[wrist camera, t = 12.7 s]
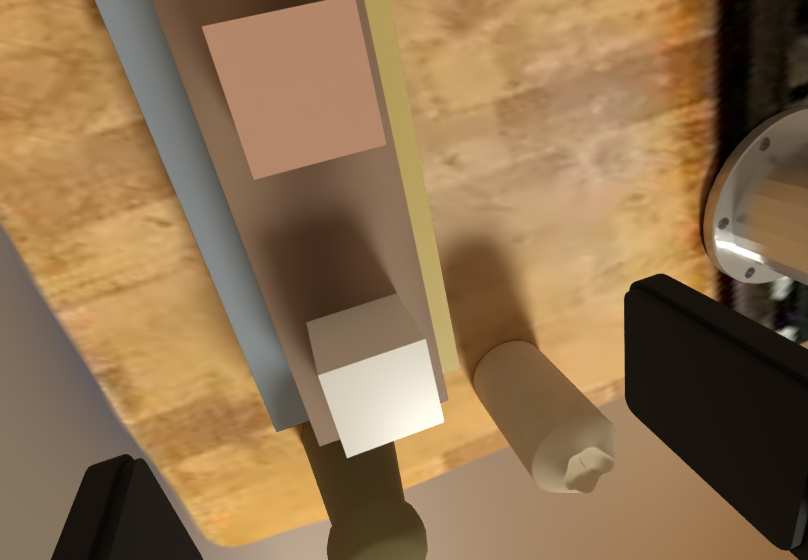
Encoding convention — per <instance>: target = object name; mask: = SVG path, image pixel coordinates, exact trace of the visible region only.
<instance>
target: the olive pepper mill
mask: <svg viewBox="0 0 808 560" xmlns="http://www.w3.org/2000/svg"><path fill="white" fill-rule="evenodd" d="M302 439H303V444H304V448H305V451H306V453H307V456H308V459H309V462H310V465H311V468H312V470H313V473H314V476H315V479H316V482H317V485H318V487H319V490H320V493H321V496H322V499H323V502H324V504H325V507H326V510H327V513H328V516H329V519H330V521H331V524H332V527H331V529H330V534H329V538H328V544H327V555H328V560H425V558H426V554H427V550H428V549H427V539H426V530H425V527H424V525H423V522H422V520H421V518H420V517H419V515H418V514H417V512H416V511H415V509H414V508H413V507H412V505H410V504H409V503H407V502H406V501H405V499H404V494H403V488H402V483H401V477H400V472H399V467H398V461H397V456H396V450H395V445H394V441H392V442H389V443H387V444H384V445H381V446H379V447H376V448H373V449H371V450H368V451H365V452H362V453H360V454H357V455H354V456H352V457H349V458H347V456H346V454H345V451H344V448H343V445H342V442H341V439H339V440H337V441H334V442H331V443H328V444H326V445H323V446H319V443H318V441H317V438H316V435H315V433H314V430H313V427H312V425H311V422H310V421H307V422H305V424H304V427H303V433H302Z"/></svg>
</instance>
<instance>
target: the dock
mask: <svg viewBox="0 0 808 560" xmlns="http://www.w3.org/2000/svg"><path fill="white" fill-rule="evenodd" d="M364 1H365V5H366V10H367V15H368V20H369V24H370V29H371V34H372V39H373V43H374V48H375V53H376V58H377V63H378V67H379V72H380V77H381V82H382V86H383V91H384V96H385V101H386V105H387V110H388V115H389V120H390V124H391V129H392V134H393V139H394V143H395V148H396V153H397V158H398V162H399V167H400V172H401V177H402V181H403V186H404V191H405V196H406V201H407V205H408V210H409V215H410V220H411V224H412V229H413V234H414V239H415V243H416V248H417V253H418V258H419V262H420V267H421V272H422V277H423V281H424V286H425V291H426V296H427V300H428V305H429V310H430V315H431V319H432V324H433V329H434V334H435V339H436V343H437V348H438V353H439V358H440V362H441V367H442V372H443V374H446V373H449V372H452V371H454V370H457V369H460V366H459V360H458V355H457V350H456V345H455V339H454V334H453V329H452V324H451V318H450V313H449V308H448V303H447V297H446V292H445V287H444V281H443V276H442V271H441V266H440V260H439V255H438V250H437V245H436V239H435V234H434V229H433V224H432V218H431V213H430V208H429V203H428V197H427V192H426V187H425V181H424V176H423V171H422V166H421V160H420V155H419V150H418V145H417V139H416V134H415V129H414V124H413V118H412V113H411V108H410V103H409V97H408V92H407V87H406V81H405V76H404V71H403V66H402V60H401V55H400V50H399V45H398V39H397V34H396V29H395V24H394V18H393V13H392V8H391V3H390V0H364ZM95 2H96V4H97V6H98V9H99V11H100V13H101V16H102V18H103V21H104V23H105V25H106V28H107V30H108V32H109V35H110V37H111V40H112V42H113V44H114V47H115V49H116V51H117V54H118V56H119V59H120V61H121V63H122V66H123V68H124V70H125V73H126V75H127V78H128V80H129V82H130V85H131V87H132V90H133V92H134V94H135V97H136V99H137V101H138V104H139V106H140V109H141V111H142V113H143V116H144V118H145V120H146V123H147V125H148V128H149V130H150V132H151V135H152V137H153V139H154V142H155V144H156V147H157V149H158V151H159V154H160V156H161V159H162V161H163V163H164V166H165V168H166V170H167V173H168V175H169V178H170V180H171V182H172V185H173V187H174V189H175V192H176V194H177V197H178V199H179V201H180V204H181V206H182V208H183V211H184V213H185V216H186V218H187V220H188V223H189V225H190V227H191V230H192V232H193V235H194V237H195V239H196V242H197V244H198V247H199V249H200V251H201V254H202V256H203V258H204V261H205V263H206V266H207V268H208V270H209V273H210V275H211V277H212V280H213V282H214V285H215V287H216V289H217V292H218V294H219V296H220V299H221V301H222V304H223V306H224V308H225V311H226V313H227V315H228V318H229V320H230V323H231V325H232V327H233V330H234V332H235V335H236V337H237V339H238V342H239V344H240V346H241V349H242V351H243V354H244V356H245V358H246V361H247V363H248V365H249V368H250V370H251V373H252V375H253V377H254V380H255V382H256V384H257V387H258V389H259V392H260V394H261V396H262V399H263V401H264V403H265V406H266V408H267V411H268V413H269V415H270V418H271V420H272V423H273V425H274V427H275V430H276V432H279V431H282V430H284V429H287V428H290V427H293V426H296V425H299V424H302V423H304V422H307V421H310V419H309V417H308V414H307V411H306V409H305V406H304V403H303V401H302V398H301V396H300V393H299V390H298V388H297V385H296V382H295V380H294V377H293V374H292V372H291V369H290V366H289V364H288V361H287V358H286V356H285V353H284V350H283V348H282V345H281V342H280V340H279V337H278V334H277V332H276V329H275V326H274V324H273V321H272V318H271V316H270V313H269V310H268V308H267V305H266V302H265V300H264V297H263V294H262V292H261V289H260V287H259V284H258V281H257V279H256V276H255V273H254V271H253V268H252V265H251V263H250V260H249V257H248V255H247V252H246V249H245V247H244V244H243V241H242V239H241V236H240V233H239V231H238V228H237V225H236V223H235V220H234V217H233V215H232V212H231V209H230V207H229V204H228V201H227V199H226V196H225V193H224V191H223V188H222V185H221V183H220V180H219V178H218V175H217V172H216V170H215V167H214V164H213V162H212V159H211V156H210V154H209V151H208V148H207V146H206V143H205V140H204V138H203V135H202V132H201V130H200V127H199V124H198V122H197V119H196V116H195V114H194V111H193V108H192V106H191V103H190V100H189V98H188V95H187V92H186V90H185V87H184V84H183V82H182V79H181V76H180V74H179V71H178V69H177V66H176V63H175V61H174V58H173V55H172V53H171V50H170V47H169V45H168V42H167V39H166V37H165V34H164V31H163V29H162V26H161V23H160V21H159V18H158V15H157V13H156V10H155V7H154V5H153V2H152V0H95Z"/></svg>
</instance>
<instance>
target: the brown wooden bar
mask: <svg viewBox="0 0 808 560" xmlns="http://www.w3.org/2000/svg"><path fill="white" fill-rule="evenodd" d="M320 1H324V0H152V2H153V5H154V7H155V10H156V13H157V15H158V18H159V21H160V23H161V26H162V29H163V31H164V34H165V37H166V39H167V42H168V45H169V47H170V50H171V53H172V55H173V58H174V61H175V63H176V66H177V69H178V71H179V74H180V76H181V79H182V82H183V84H184V87H185V90H186V92H187V95H188V98H189V100H190V103H191V106H192V108H193V111H194V114H195V116H196V119H197V122H198V124H199V127H200V130H201V132H202V135H203V138H204V140H205V143H206V146H207V148H208V151H209V154H210V156H211V159H212V162H213V164H214V167H215V170H216V172H217V175H218V178H219V180H220V183H221V185H222V188H223V191H224V193H225V196H226V199H227V201H228V204H229V207H230V209H231V212H232V215H233V217H234V220H235V223H236V225H237V228H238V231H239V233H240V236H241V239H242V241H243V244H244V247H245V249H246V252H247V255H248V257H249V260H250V263H251V265H252V268H253V271H254V273H255V276H256V279H257V281H258V284H259V287H260V289H261V292H262V294H263V297H264V300H265V302H266V305H267V308H268V310H269V313H270V316H271V318H272V321H273V324H274V326H275V329H276V332H277V334H278V337H279V340H280V342H281V345H282V348H283V350H284V353H285V356H286V358H287V361H288V364H289V366H290V369H291V372H292V374H293V377H294V380H295V382H296V385H297V388H298V390H299V393H300V396H301V398H302V401H303V403H304V406H305V409H306V411H307V414H308V417H309V419H310V422H311V425H312V427H313V430H314V433H315V435H316V438H317V441H318V443H319V446H323V445H326V444H328V443H331V442H334V441H337V440H339V439H340V437H339V434H338V431H337V428H336V425H335V422H334V420H333V417H332V414H331V411H330V408H329V405H328V403H327V400H326V397H325V394H324V391H323V389H322V386H321V383H320V380H319V377H318V374H317V369H316V365H315V360H314V356H313V351H312V346H311V342H310V337H309V333H308V328H307V324H306V322H309V321H312V320H315V319H318V318H321V317H324V316H328V315H331V314H334V313H337V312H340V311H343V310H346V309H349V308H352V307H355V306H359V305H362V304H365V303H368V302H371V301H374V300H377V299H380V298H383V297H387V296H390V295H393V294H396V293H397V294H398V296H399V297H400V299H401V300H402V302H403V304H404V305H405V307H406V308H407V310H408V311H409V313H410V315H411V316H412V318H413V319H414V321H415V323H416V324H417V326H418V327H419V329H420V331H421V332H422V334H423V335H424V337H425V339H426V342H427V347H428V351H429V356H430V360H431V365H432V369H433V373H434V378H435V382H436V387H437V391H438V396H439V400H440V403H442V402H445V401H448V396H447V391H446V386H445V381H444V377H443V372H442V367H441V362H440V358H439V353H438V348H437V343H436V339H435V334H434V329H433V324H432V319H431V315H430V310H429V305H428V300H427V296H426V291H425V286H424V281H423V277H422V272H421V267H420V262H419V258H418V253H417V248H416V243H415V239H414V234H413V229H412V224H411V220H410V215H409V210H408V205H407V201H406V196H405V191H404V186H403V181H402V177H401V172H400V167H399V162H398V158H397V153H396V148H395V143H394V139H393V134H392V129H391V124H390V120H389V115H388V110H387V105H386V101H385V96H384V91H383V86H382V82H381V77H380V72H379V67H378V63H377V58H376V53H375V48H374V43H373V39H372V34H371V29H370V24H369V20H368V15H367V10H366V5H365V1H364V0H356V4H357V9H358V13H359V18H360V23H361V27H362V32H363V37H364V41H365V46H366V51H367V55H368V60H369V65H370V69H371V74H372V79H373V84H374V88H375V93H376V98H377V102H378V107H379V112H380V116H381V121H382V126H383V130H384V135H385V140H386V144H387V145H384V146H380V147H376V148H372V149H368V150H365V151H361V152H357V153H353V154H350V155H346V156H342V157H338V158H334V159H331V160H327V161H323V162H319V163H316V164H312V165H308V166H304V167H300V168H297V169H293V170H289V171H285V172H282V173H278V174H274V175H270V176H267V177H263V178H259V179H255V180H254V179H253V176H252V173H251V170H250V167H249V164H248V161H247V158H246V155H245V152H244V150H243V147H242V144H241V141H240V138H239V135H238V132H237V129H236V126H235V123H234V120H233V117H232V114H231V111H230V108H229V105H228V103H227V100H226V97H225V94H224V91H223V88H222V85H221V82H220V79H219V76H218V73H217V70H216V67H215V64H214V61H213V59H212V56H211V53H210V50H209V47H208V44H207V41H206V38H205V35H204V32H203V29H202V26H207V25H212V24H216V23H221V22H226V21H230V20H235V19H240V18H244V17H249V16H254V15H258V14H263V13H268V12H273V11H277V10H282V9H287V8H291V7H296V6H301V5H305V4H310V3H315V2H320Z"/></svg>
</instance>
